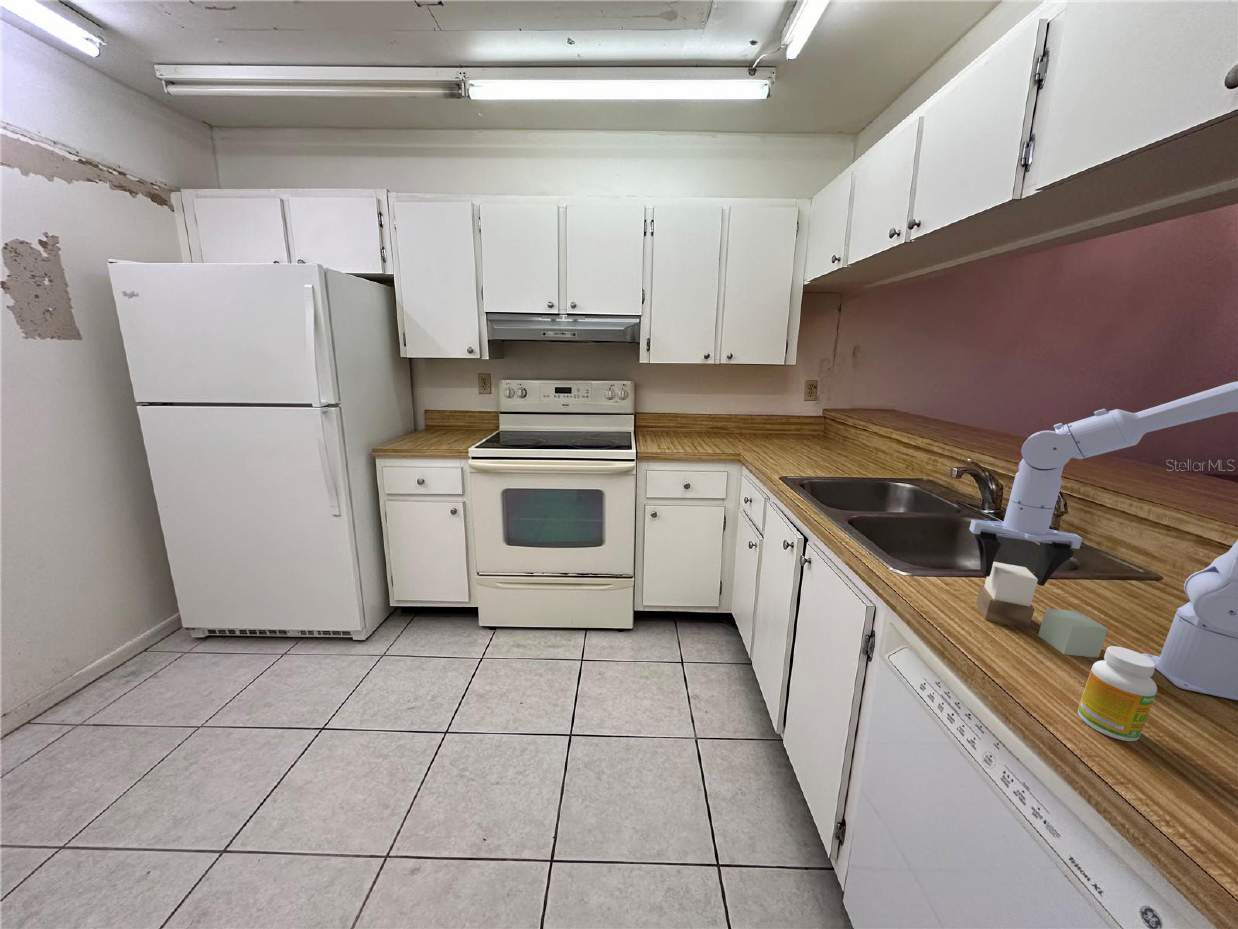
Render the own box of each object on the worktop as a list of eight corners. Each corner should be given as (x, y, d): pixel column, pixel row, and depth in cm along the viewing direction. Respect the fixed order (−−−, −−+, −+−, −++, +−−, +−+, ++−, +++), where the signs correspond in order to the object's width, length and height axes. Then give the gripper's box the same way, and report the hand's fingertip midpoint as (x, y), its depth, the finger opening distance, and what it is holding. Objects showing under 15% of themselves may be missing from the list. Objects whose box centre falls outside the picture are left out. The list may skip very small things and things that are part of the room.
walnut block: (1016, 613, 83) (1021, 593, 82) (1028, 630, 78) (1034, 609, 77) (975, 604, 86) (980, 585, 85) (984, 620, 80) (990, 599, 79)
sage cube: (1070, 638, 76) (1079, 611, 75) (1098, 658, 71) (1108, 629, 70) (1037, 635, 76) (1046, 608, 75) (1063, 654, 72) (1072, 625, 70)
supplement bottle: (1134, 750, 54) (1162, 677, 51) (1071, 720, 58) (1094, 651, 56) (1142, 730, 57) (1168, 660, 55) (1082, 703, 61) (1103, 637, 59)
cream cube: (1018, 593, 82) (1025, 567, 81) (1030, 606, 78) (1038, 579, 77) (984, 586, 84) (990, 561, 83) (993, 599, 80) (1001, 572, 78)
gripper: (988, 503, 76) (969, 579, 79) (1102, 518, 71) (1077, 598, 74) (973, 492, 82) (956, 563, 85) (1076, 504, 77) (1054, 579, 81)
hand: (1011, 578), depth 80 cm, fingers open, 7 cm apart
